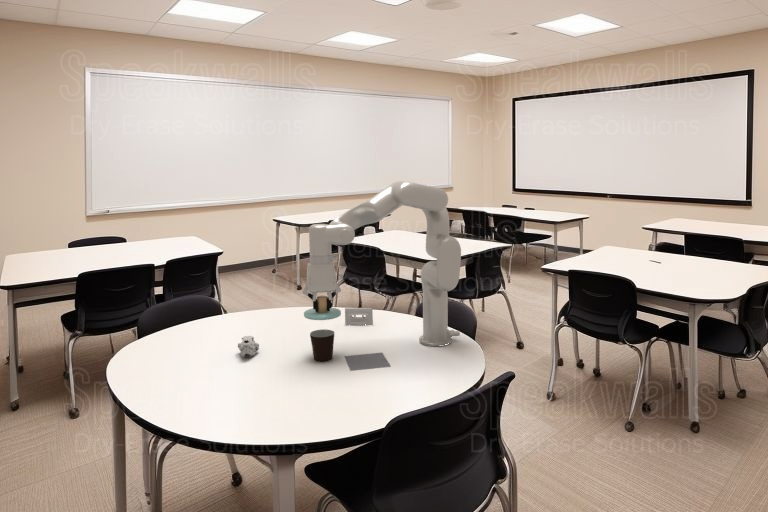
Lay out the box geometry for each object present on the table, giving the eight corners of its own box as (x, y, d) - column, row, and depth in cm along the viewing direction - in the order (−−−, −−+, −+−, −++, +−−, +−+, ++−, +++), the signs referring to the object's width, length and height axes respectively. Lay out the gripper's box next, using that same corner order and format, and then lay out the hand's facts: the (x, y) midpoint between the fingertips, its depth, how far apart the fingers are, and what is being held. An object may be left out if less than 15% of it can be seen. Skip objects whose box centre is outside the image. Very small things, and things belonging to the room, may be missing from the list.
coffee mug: (331, 365, 182) (330, 337, 180) (307, 363, 184) (306, 336, 182) (340, 353, 193) (339, 327, 191) (318, 352, 195) (317, 326, 193)
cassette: (345, 326, 226) (344, 308, 225) (345, 324, 228) (345, 307, 227) (372, 326, 226) (372, 308, 224) (373, 324, 228) (372, 307, 226)
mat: (382, 354, 192) (382, 352, 192) (391, 368, 178) (391, 366, 178) (344, 357, 189) (344, 356, 189) (350, 372, 175) (350, 370, 175)
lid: (338, 308, 193) (337, 291, 192) (343, 318, 180) (343, 300, 179) (302, 311, 190) (302, 293, 189) (305, 321, 178) (304, 302, 177)
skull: (261, 341, 200) (258, 327, 190) (258, 363, 195) (256, 350, 185) (240, 341, 199) (236, 327, 189) (237, 363, 194) (233, 350, 184)
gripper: (342, 256, 187) (344, 306, 191) (296, 259, 184) (298, 309, 187) (346, 260, 180) (347, 312, 183) (297, 262, 177) (299, 315, 180)
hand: (322, 310), depth 185 cm, fingers closed on lid, 3 cm apart
